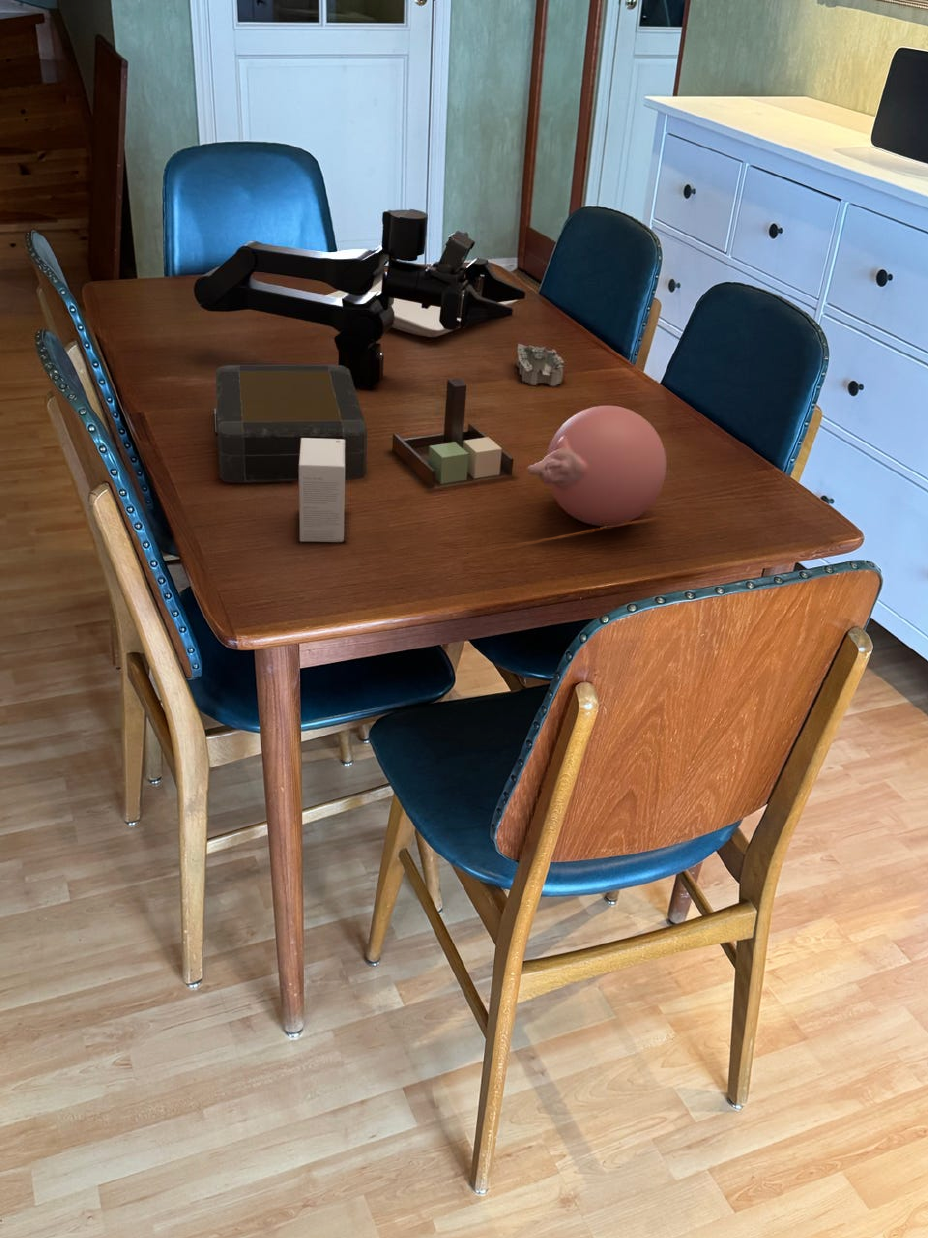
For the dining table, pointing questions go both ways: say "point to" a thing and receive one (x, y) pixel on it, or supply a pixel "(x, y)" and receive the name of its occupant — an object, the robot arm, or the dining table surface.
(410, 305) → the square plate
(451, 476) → the sage block
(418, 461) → the brown tray with post
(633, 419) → the balloon
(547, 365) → the grey castle model
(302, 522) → the small box
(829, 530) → the dining table surface
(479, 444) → the cream block
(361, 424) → the cash box
